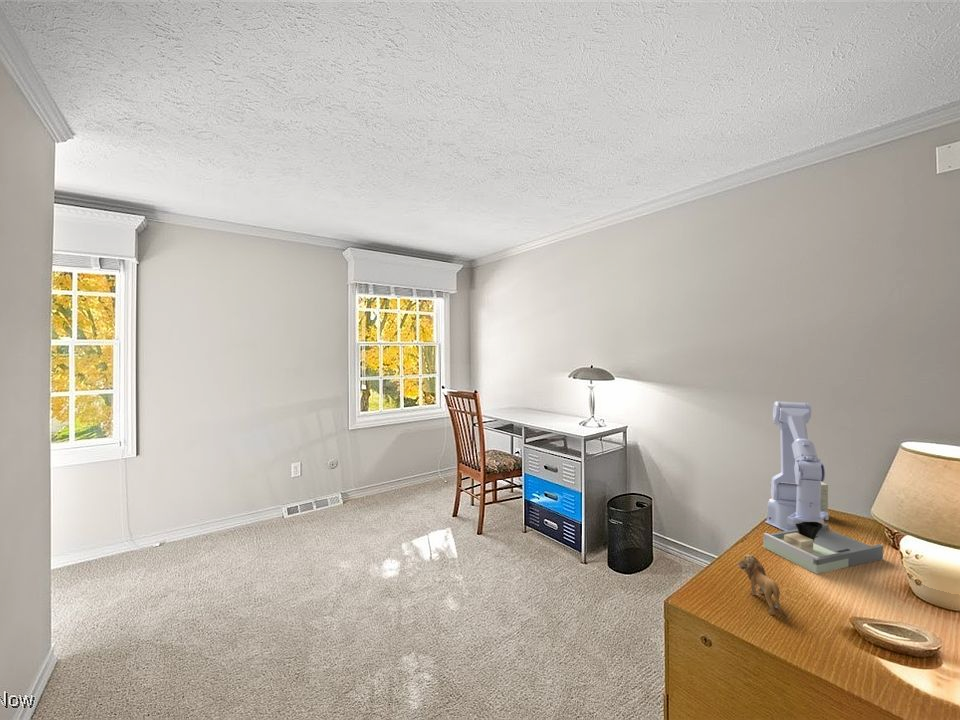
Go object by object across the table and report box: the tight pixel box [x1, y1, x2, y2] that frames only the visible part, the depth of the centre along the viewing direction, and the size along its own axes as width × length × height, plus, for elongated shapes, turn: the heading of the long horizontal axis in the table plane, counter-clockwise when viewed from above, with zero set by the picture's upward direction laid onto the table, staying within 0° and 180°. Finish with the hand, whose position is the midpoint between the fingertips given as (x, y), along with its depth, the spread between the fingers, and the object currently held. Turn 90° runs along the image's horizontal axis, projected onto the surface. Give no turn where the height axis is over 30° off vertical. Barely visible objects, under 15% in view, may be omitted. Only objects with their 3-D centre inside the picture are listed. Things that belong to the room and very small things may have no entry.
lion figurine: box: [737, 553, 788, 619], centre depth 105 cm, size 15×5×9 cm, turn 4°
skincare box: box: [820, 481, 829, 513], centre depth 157 cm, size 6×4×12 cm
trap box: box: [762, 523, 884, 575], centre depth 129 cm, size 16×27×4 cm, turn 107°
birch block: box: [784, 533, 813, 554], centre depth 126 cm, size 5×5×4 cm
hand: (807, 544), depth 127 cm, fingers closed
